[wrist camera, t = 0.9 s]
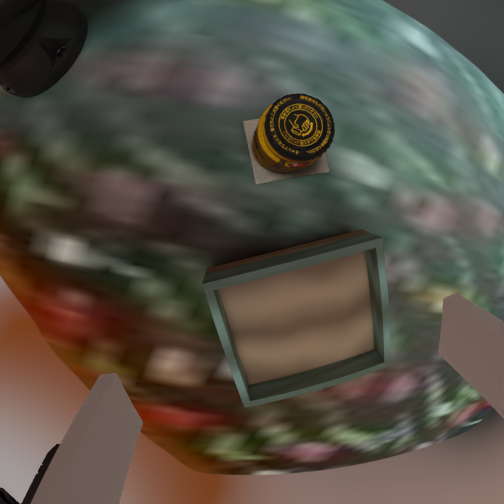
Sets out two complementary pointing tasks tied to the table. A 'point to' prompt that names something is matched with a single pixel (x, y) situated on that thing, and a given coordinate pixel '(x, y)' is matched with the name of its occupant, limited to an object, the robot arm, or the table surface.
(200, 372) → the table surface
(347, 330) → the shallow square tray
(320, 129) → the condiment
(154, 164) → the table surface
